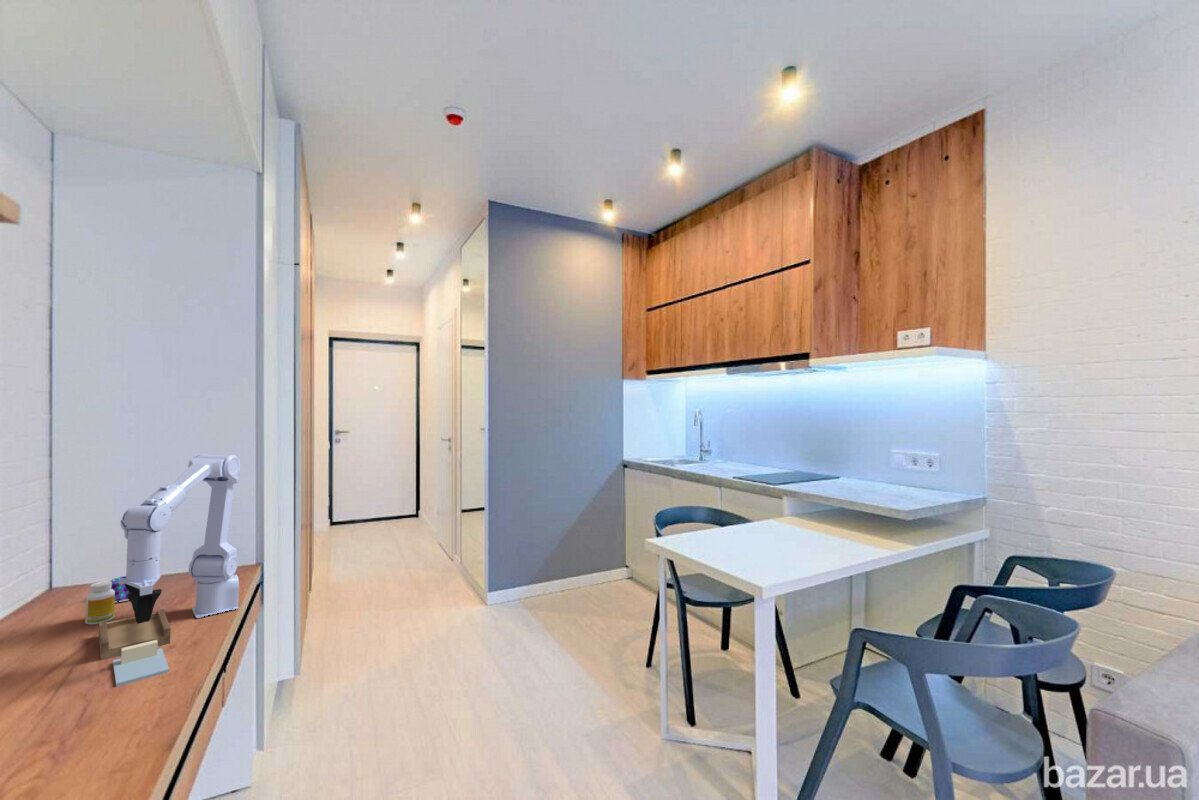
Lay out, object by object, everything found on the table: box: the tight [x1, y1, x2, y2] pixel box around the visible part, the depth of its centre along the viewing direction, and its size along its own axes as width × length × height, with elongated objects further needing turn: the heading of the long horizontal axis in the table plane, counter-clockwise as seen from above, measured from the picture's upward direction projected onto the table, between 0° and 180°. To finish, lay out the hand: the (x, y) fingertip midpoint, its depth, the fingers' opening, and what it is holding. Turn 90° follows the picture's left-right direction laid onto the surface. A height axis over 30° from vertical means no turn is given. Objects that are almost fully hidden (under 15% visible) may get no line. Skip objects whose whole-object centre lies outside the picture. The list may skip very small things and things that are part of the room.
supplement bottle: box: [84, 580, 116, 626], centre depth 131 cm, size 5×5×10 cm
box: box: [98, 608, 172, 661], centre depth 123 cm, size 12×14×4 cm
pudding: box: [110, 575, 130, 603], centre depth 146 cm, size 12×12×5 cm
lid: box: [112, 640, 170, 688], centre depth 112 cm, size 8×12×4 cm
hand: (141, 616), depth 115 cm, fingers open, 7 cm apart
